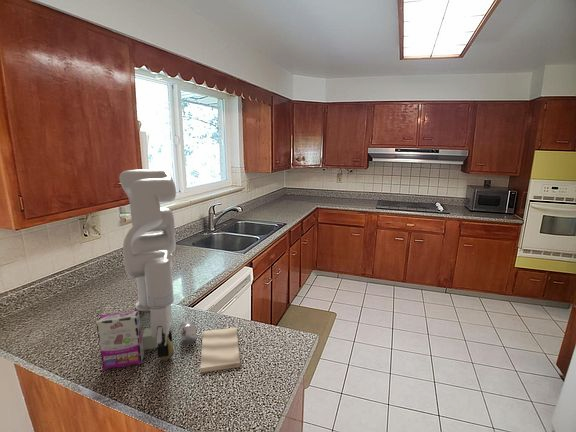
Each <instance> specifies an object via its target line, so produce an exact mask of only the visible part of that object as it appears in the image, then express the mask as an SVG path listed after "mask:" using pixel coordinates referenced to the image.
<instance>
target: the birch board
mask: <svg viewBox="0 0 576 432" xmlns="http://www.w3.org/2000/svg"><path fill="white" fill-rule="evenodd" d="M201 340H202V343H201V352H200V353H201V354H200V366H199V367H200V373H206V372H212V371H220V370H227V369H234V368H241V359H240V349H239V339H238V330H237V327H229V328H218V329H212V330H204V331H202V339H201Z"/></svg>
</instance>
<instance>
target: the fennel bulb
mask: <svg viewBox="0 0 576 432" xmlns="http://www.w3.org/2000/svg"><path fill="white" fill-rule="evenodd" d="M162 335H165V334H164V333H162ZM162 341H164V338H162ZM167 344H168V349H169V355H168V356H165V357H158V358H159V360H161V361H164V362H165V361H167V360H169V359H171V358H172V357H173V356H174V352H175V351H174V345H173V343H172V342H171V341H170V340H169V337H168V336H167Z"/></svg>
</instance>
